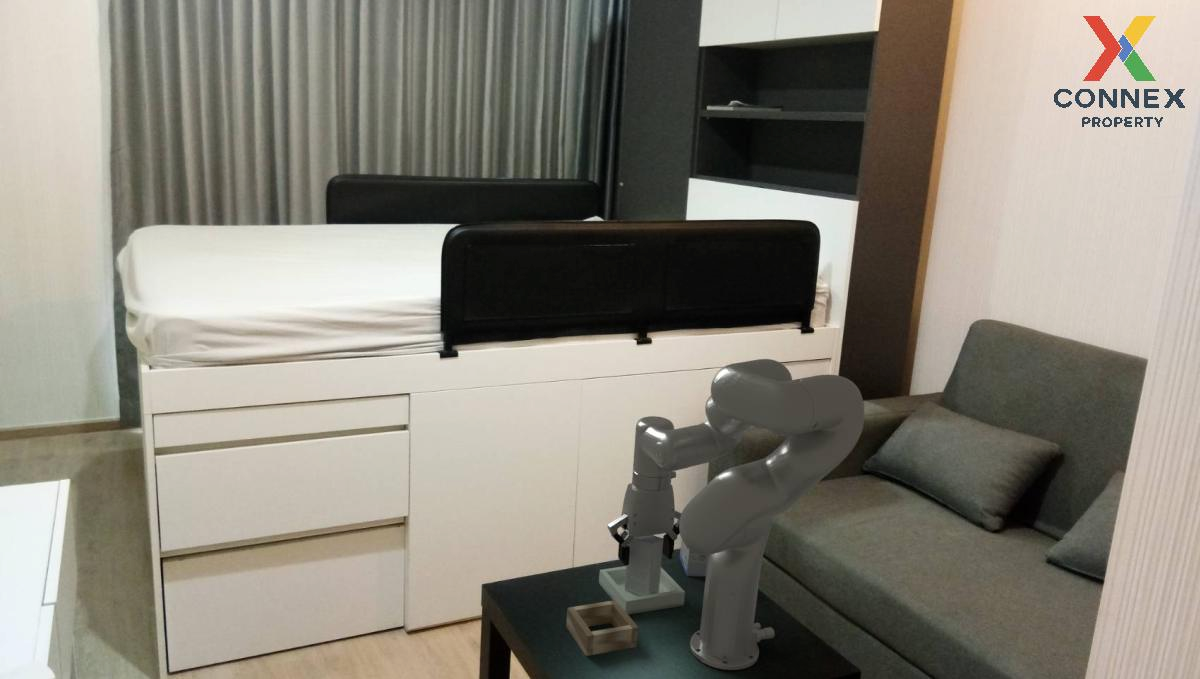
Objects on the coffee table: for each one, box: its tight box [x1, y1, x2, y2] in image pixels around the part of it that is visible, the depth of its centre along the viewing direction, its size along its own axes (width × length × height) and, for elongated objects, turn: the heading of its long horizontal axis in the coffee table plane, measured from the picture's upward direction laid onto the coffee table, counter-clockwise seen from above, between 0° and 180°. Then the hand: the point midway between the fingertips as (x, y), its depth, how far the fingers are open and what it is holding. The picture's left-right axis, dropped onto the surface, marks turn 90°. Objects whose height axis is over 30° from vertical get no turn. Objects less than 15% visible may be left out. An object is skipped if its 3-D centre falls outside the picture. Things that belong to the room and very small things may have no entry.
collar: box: [565, 600, 639, 657], centre depth 170 cm, size 10×10×4 cm
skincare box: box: [625, 535, 663, 596], centre depth 185 cm, size 6×4×12 cm
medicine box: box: [679, 540, 709, 577], centre depth 198 cm, size 8×4×9 cm, turn 6°
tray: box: [598, 565, 686, 616], centre depth 186 cm, size 13×13×3 cm
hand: (645, 559), depth 184 cm, fingers open, 9 cm apart
